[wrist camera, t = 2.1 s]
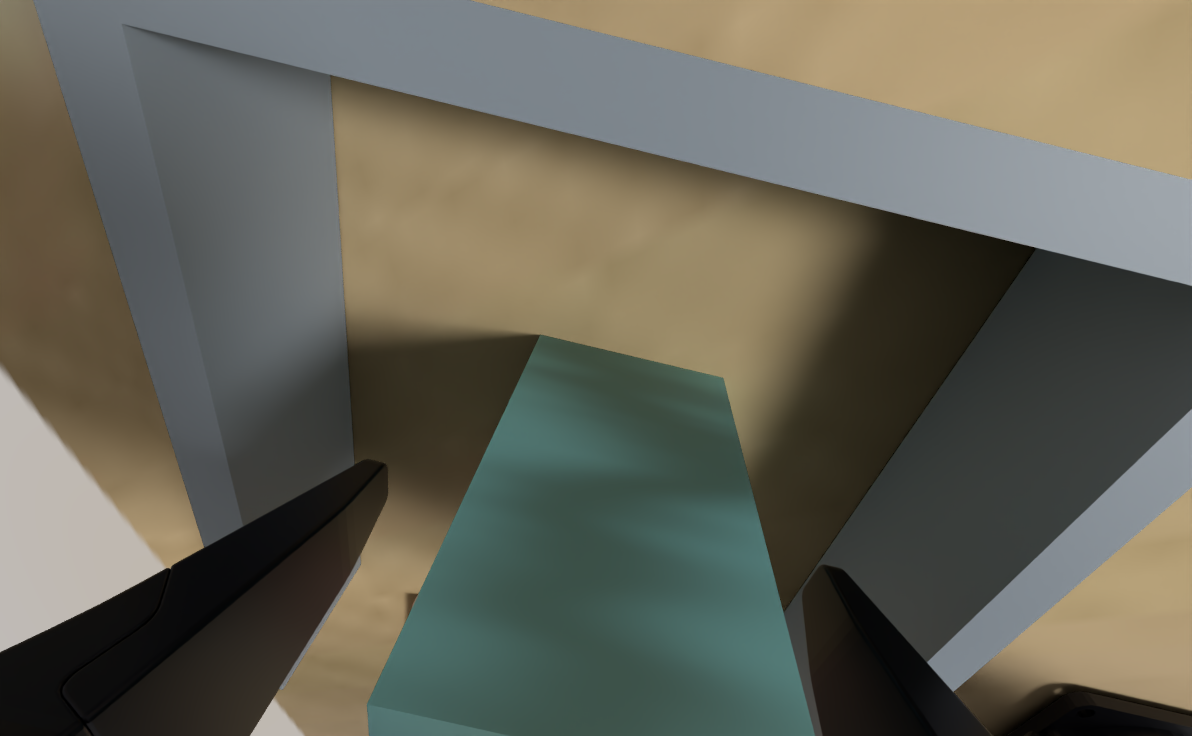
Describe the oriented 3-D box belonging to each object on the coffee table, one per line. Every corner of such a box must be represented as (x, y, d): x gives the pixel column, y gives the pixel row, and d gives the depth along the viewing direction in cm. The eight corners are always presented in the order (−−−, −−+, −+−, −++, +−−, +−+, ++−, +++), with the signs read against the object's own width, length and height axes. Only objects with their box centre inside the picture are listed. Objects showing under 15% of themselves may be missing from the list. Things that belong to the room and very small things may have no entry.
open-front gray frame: (1139, 188, 9) (1469, 249, 5) (782, 660, 17) (817, 808, 13) (268, -28, 8) (-4, -118, 5) (332, 558, 16) (246, 681, 13)
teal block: (723, 377, 11) (833, 807, 5) (669, 507, 14) (688, 928, 7) (540, 334, 11) (365, 704, 4) (516, 472, 14) (377, 860, 7)
